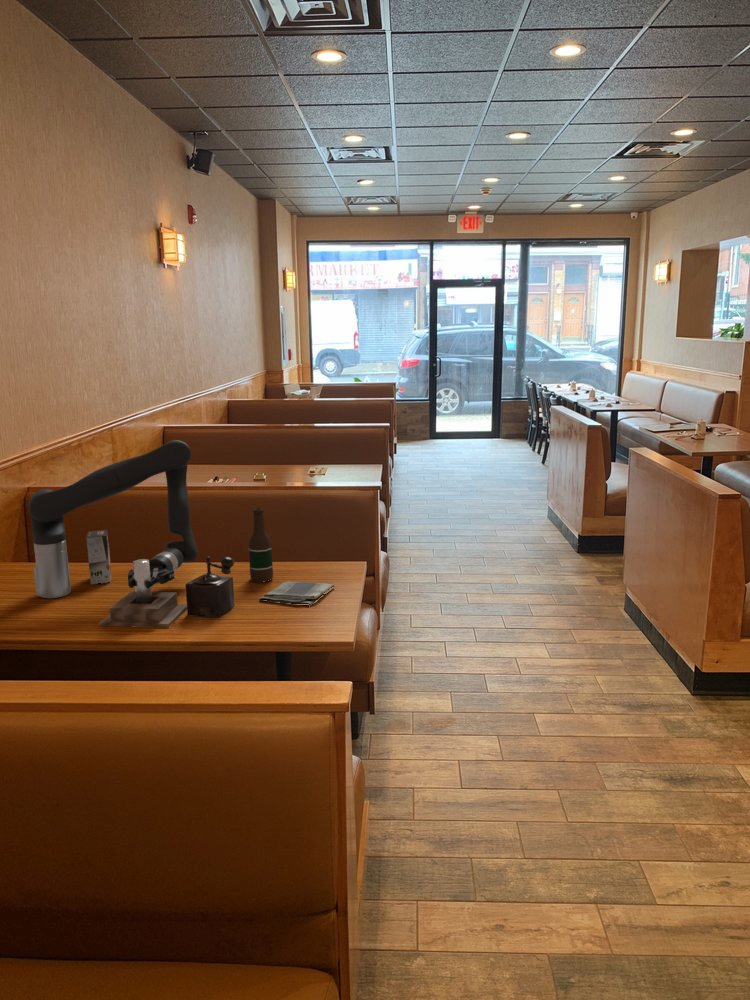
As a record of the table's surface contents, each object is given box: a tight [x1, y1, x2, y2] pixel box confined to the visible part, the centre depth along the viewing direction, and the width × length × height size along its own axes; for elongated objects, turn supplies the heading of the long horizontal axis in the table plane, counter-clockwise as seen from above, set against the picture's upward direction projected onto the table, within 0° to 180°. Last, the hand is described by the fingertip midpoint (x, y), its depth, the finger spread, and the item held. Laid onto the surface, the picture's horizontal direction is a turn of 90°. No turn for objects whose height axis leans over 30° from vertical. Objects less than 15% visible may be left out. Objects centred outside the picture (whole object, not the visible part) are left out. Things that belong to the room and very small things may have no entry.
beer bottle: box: [248, 507, 274, 583], centre depth 248 cm, size 8×8×24 cm
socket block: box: [99, 591, 187, 628], centre depth 218 cm, size 20×16×5 cm
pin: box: [132, 558, 153, 604], centre depth 216 cm, size 4×4×14 cm
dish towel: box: [258, 580, 335, 606], centre depth 234 cm, size 19×18×3 cm
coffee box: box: [85, 529, 112, 585], centre depth 252 cm, size 9×6×16 cm
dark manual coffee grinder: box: [185, 555, 235, 618], centre depth 219 cm, size 16×11×18 cm
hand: (138, 584), depth 213 cm, fingers closed on pin, 4 cm apart
